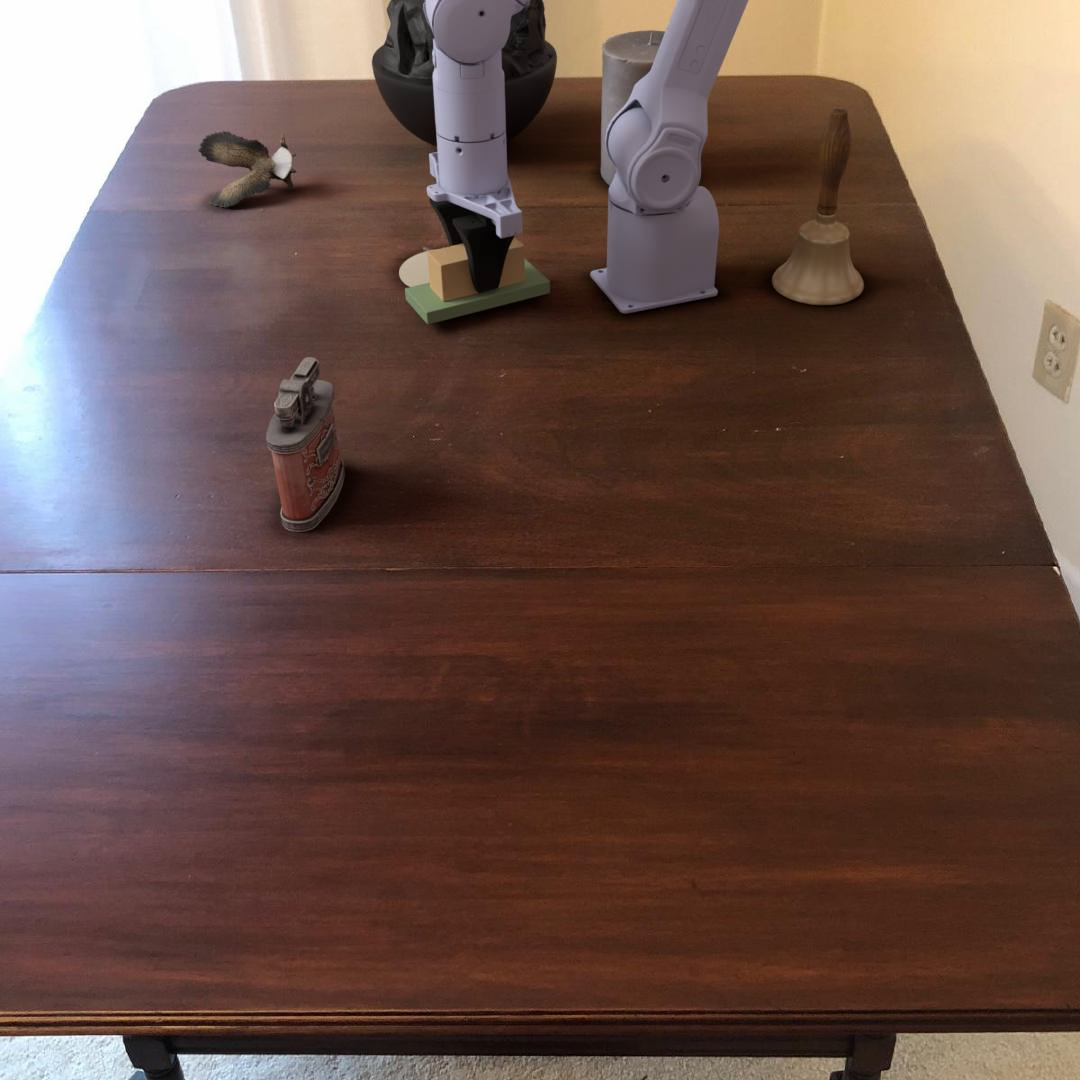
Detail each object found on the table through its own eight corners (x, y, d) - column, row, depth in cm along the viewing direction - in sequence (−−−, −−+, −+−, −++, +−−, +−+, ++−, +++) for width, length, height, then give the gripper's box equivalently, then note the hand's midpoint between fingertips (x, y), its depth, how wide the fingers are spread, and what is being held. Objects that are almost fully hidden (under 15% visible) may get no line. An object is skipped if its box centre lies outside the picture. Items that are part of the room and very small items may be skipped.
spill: (477, 242, 120) (477, 242, 119) (507, 283, 113) (507, 283, 113) (388, 258, 117) (388, 257, 117) (413, 300, 111) (413, 300, 111)
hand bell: (761, 296, 110) (782, 122, 100) (783, 257, 116) (804, 88, 106) (853, 313, 108) (884, 136, 98) (871, 271, 114) (901, 100, 104)
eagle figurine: (276, 158, 133) (193, 159, 129) (290, 115, 127) (203, 114, 123) (294, 217, 131) (210, 220, 127) (308, 176, 125) (221, 178, 121)
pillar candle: (705, 169, 132) (716, 25, 123) (662, 202, 126) (670, 54, 116) (626, 151, 136) (631, 11, 127) (582, 182, 130) (583, 37, 120)
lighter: (317, 534, 85) (298, 415, 79) (271, 528, 86) (248, 409, 79) (354, 467, 91) (338, 351, 85) (311, 462, 92) (292, 346, 85)
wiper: (550, 293, 110) (550, 245, 107) (427, 325, 106) (423, 275, 103) (525, 270, 113) (524, 222, 110) (405, 300, 109) (401, 251, 106)
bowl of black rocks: (343, 155, 136) (322, -24, 124) (453, 100, 149) (443, -67, 137) (487, 197, 127) (479, 9, 115) (591, 135, 140) (593, -41, 128)
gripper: (392, 109, 103) (405, 256, 112) (463, 171, 93) (471, 327, 102) (468, 95, 106) (475, 240, 114) (545, 153, 96) (546, 307, 105)
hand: (478, 280), depth 108 cm, fingers closed on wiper, 3 cm apart
